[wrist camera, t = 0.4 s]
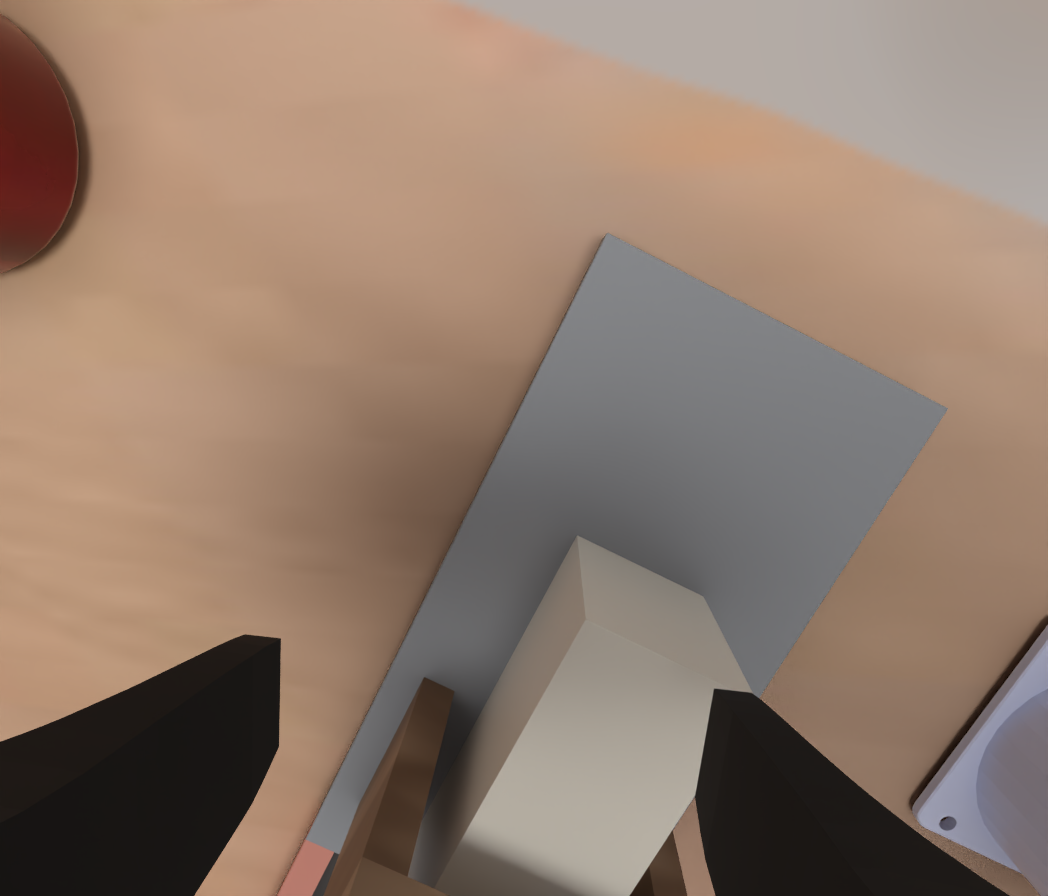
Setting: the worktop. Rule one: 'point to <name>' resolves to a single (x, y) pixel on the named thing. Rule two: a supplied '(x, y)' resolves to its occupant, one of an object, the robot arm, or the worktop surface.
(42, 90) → the soda can
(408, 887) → the walnut tunnel
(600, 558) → the cream block
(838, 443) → the grey deck
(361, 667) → the worktop surface
